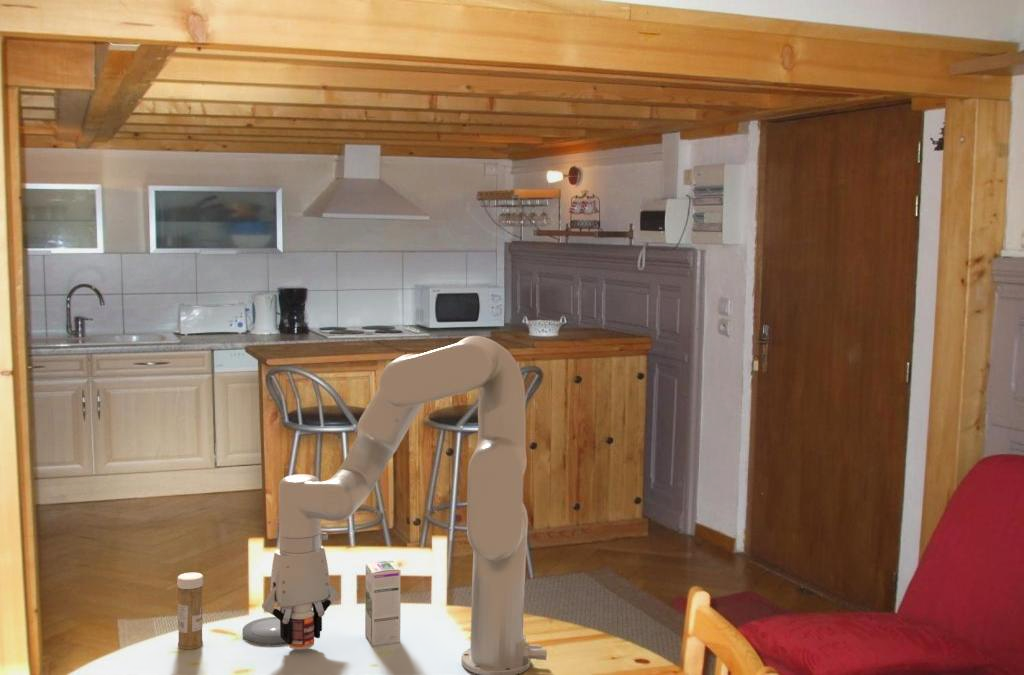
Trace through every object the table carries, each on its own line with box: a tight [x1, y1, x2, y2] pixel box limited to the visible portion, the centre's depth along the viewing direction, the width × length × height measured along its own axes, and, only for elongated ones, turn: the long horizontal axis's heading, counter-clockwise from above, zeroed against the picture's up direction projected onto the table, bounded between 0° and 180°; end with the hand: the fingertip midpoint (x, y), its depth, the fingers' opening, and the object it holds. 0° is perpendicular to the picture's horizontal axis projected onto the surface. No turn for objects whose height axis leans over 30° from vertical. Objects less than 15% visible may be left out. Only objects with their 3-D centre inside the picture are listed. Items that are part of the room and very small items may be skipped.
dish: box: [242, 616, 288, 646], centre depth 199 cm, size 12×12×1 cm
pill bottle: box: [287, 603, 315, 651], centre depth 191 cm, size 5×5×8 cm
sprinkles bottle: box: [176, 571, 204, 651], centre depth 191 cm, size 5×5×14 cm
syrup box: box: [364, 560, 401, 647], centre depth 197 cm, size 6×6×14 cm
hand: (301, 637), depth 191 cm, fingers closed on pill bottle, 4 cm apart
